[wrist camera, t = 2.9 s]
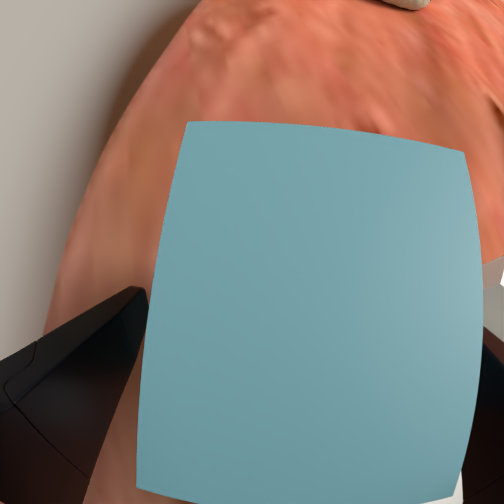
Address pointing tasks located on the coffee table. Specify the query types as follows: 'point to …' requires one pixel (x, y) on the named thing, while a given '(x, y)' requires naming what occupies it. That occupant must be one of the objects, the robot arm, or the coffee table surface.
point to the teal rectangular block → (311, 320)
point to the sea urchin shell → (409, 3)
